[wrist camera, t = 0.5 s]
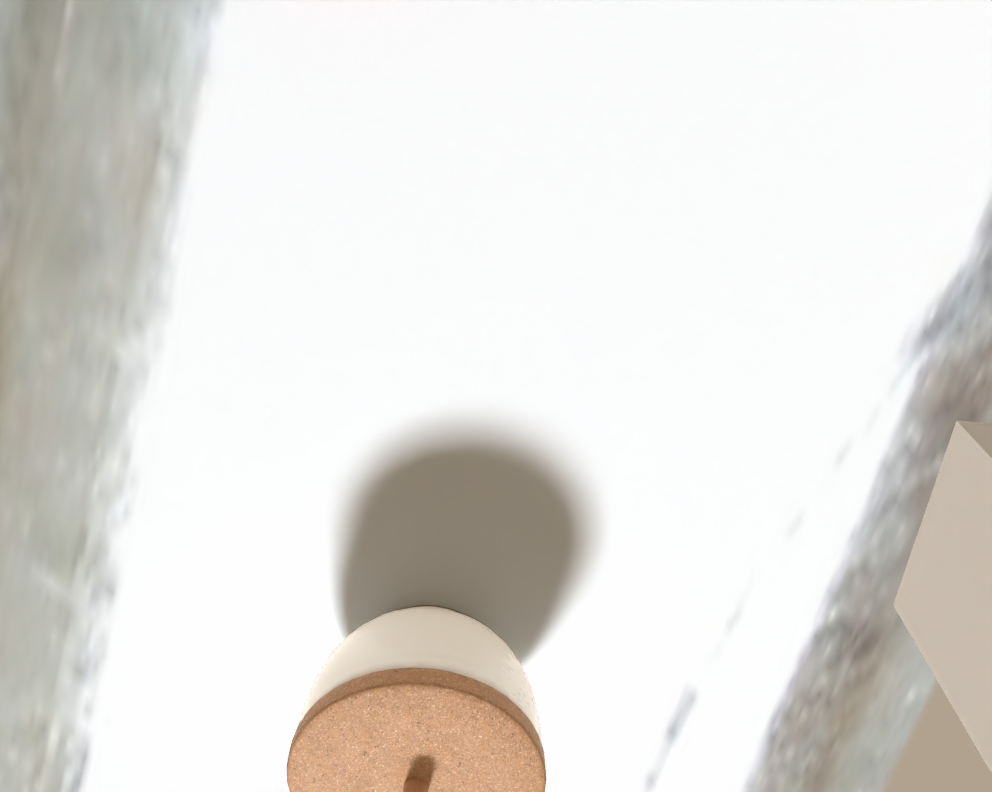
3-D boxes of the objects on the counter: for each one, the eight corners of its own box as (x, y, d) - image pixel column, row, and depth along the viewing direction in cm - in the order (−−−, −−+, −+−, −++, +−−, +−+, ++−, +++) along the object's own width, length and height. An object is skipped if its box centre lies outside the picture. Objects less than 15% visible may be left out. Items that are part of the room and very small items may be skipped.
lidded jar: (448, 525, 43) (436, 671, 34) (582, 673, 47) (600, 837, 38) (271, 637, 46) (220, 797, 37) (411, 768, 49) (393, 940, 41)
